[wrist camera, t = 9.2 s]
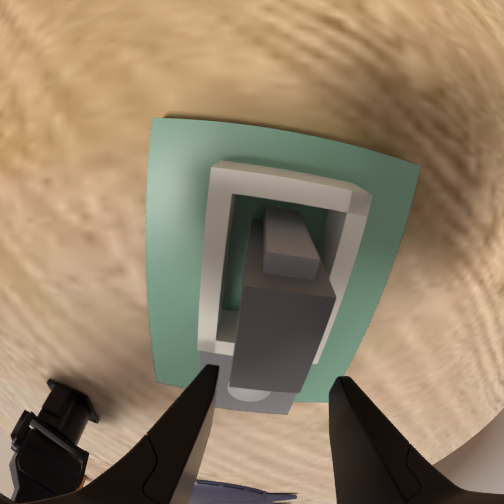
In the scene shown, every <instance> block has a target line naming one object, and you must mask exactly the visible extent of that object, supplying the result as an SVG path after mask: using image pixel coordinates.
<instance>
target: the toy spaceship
mask: <svg viewBox="0 0 504 504" xmlns="http://www.w3.org/2000/svg"><path fill="white" fill-rule="evenodd" d="M296 498H297V496H296V495H285V494H269V493H267V492H265V491H262V490H259V489H255V488H251V487H246V486H241V485H236V484H229V483H223V482H215V481H207V480H198V479H196V481H195V484H194V487H193V491H192V494H191V497H190V500H189V504H274V503H273V501H282V500H290V499H296Z"/></svg>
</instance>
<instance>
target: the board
mask: <svg viewBox="0 0 504 504" xmlns="http://www.w3.org/2000/svg"><path fill="white" fill-rule="evenodd" d="M420 167H421V166H419V165H417V164H414V163H411V162H408V161H405V160H402V159H399V158H395V157H392V156H389V155H386V154H382V153H379V152H376V151H372V150H369V149H365V148H361V147H357V146H354V145H350V144H346V143H342V142H338V141H333V140H329V139H324V138H320V137H315V136H310V135H305V134H300V133H295V132H290V131H284V130H278V129H272V128H265V127H259V126H252V125H244V124H236V123H227V122H217V121H205V120H192V119H174V118H152V126H151V135H150V146H149V158H148V173H147V193H146V276H147V296H148V311H149V323H150V334H151V344H152V353H153V361H154V369H155V376H156V382H158V383H163V384H167V385H172V386H177V387H181V388H187V386H188V385H189V384H190V383H191V382H192V381H193V379H194V378H195V377H196V376H197V375H198V373H199V372H200V371H201V370H202V369H203V367H204V366H205V365H206V364H214V365H218V366H219V367H220V370H219V379H218V387H217V394H216V401H215V407H216V408H223V409H230V410H238V411H247V412H256V413H268V414H283V415H287V414H288V412H289V410H290V408H291V406H292V403H293V402H320V403H329V391H330V389H331V387H332V385H333V384H334V382H335V380H336V378H337V377H338V376H344V375H345V373H346V371H347V369H348V367H349V365H350V363H351V361H352V359H353V357H354V355H355V353H356V351H357V349H358V347H359V345H360V343H361V341H362V339H363V337H364V335H365V332H366V330H367V328H368V326H369V323H370V321H371V319H372V317H373V314H374V312H375V310H376V307H377V305H378V302H379V300H380V297H381V295H382V292H383V290H384V287H385V285H386V282H387V279H388V277H389V274H390V271H391V269H392V266H393V263H394V260H395V257H396V254H397V251H398V248H399V245H400V242H401V239H402V236H403V232H404V229H405V226H406V222H407V219H408V215H409V212H410V208H411V204H412V201H413V197H414V193H415V189H416V185H417V180H418V176H419V171H420ZM265 206H269V207H276V208H282V209H288V210H294V211H299V213H300V215H301V217H302V219H303V221H304V224H305V226H306V227H307V229H308V231H309V233H310V235H311V238H312V240H313V242H314V244H315V247H316V249H317V251H318V254H319V256H320V258H321V261H322V263H323V265H324V268H325V270H326V273H327V275H328V277H329V280H330V282H331V285H332V287H333V290H334V292H335V295H336V297H337V298H336V301H335V304H334V307H333V310H332V313H331V316H330V318H329V321H328V324H327V327H326V329H325V332H324V335H323V337H322V340H321V343H320V345H319V348H318V350H317V353H316V356H315V358H314V360H313V363H312V365H311V368H310V370H309V373H308V375H307V377H306V380H305V382H304V384H303V387H302V389H301V391H300V393H286V392H273V391H262V390H252V389H243V388H235V387H229V383H230V375H231V367H232V359H233V351H234V343H235V335H236V328H237V320H238V312H239V304H240V297H241V290H242V283H243V276H244V269H245V263H246V256H247V249H248V242H249V236H250V229H251V222H252V219H258V220H263V218H264V212H265Z"/></svg>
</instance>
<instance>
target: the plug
mask: <svg viewBox="0 0 504 504" xmlns="http://www.w3.org/2000/svg"><path fill="white" fill-rule="evenodd" d="M336 298H337V297H336V295H335V292H334V290H333V287H332V285H331V282H330V280H329V277H328V275H327V273H326V270H325V268H324V265H323V263H322V261H321V258H320V256H319V254H318V251H317V249H316V247H315V244H314V242H313V240H312V238H311V235H310V233H309V231H308V229H307V227H306V226H305V224H304V221H303V219H302V217H301V215H300V213H299V211H294V210H288V209H282V208H276V207H269V206H265V212H264V218H263V220H258V219H252V222H251V229H250V236H249V242H248V249H247V256H246V263H245V269H244V276H243V283H242V290H241V297H240V304H239V312H238V320H237V328H236V335H235V343H234V351H233V359H232V367H231V375H230V383H229V387H235V388H243V389H252V390H262V391H273V392H286V393H300V391H301V389H302V387H303V384H304V382H305V380H306V377H307V375H308V373H309V370H310V368H311V365H312V363H313V360H314V358H315V356H316V353H317V350H318V348H319V345H320V343H321V340H322V337H323V335H324V332H325V329H326V327H327V324H328V321H329V318H330V316H331V313H332V310H333V307H334V304H335V301H336Z"/></svg>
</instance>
